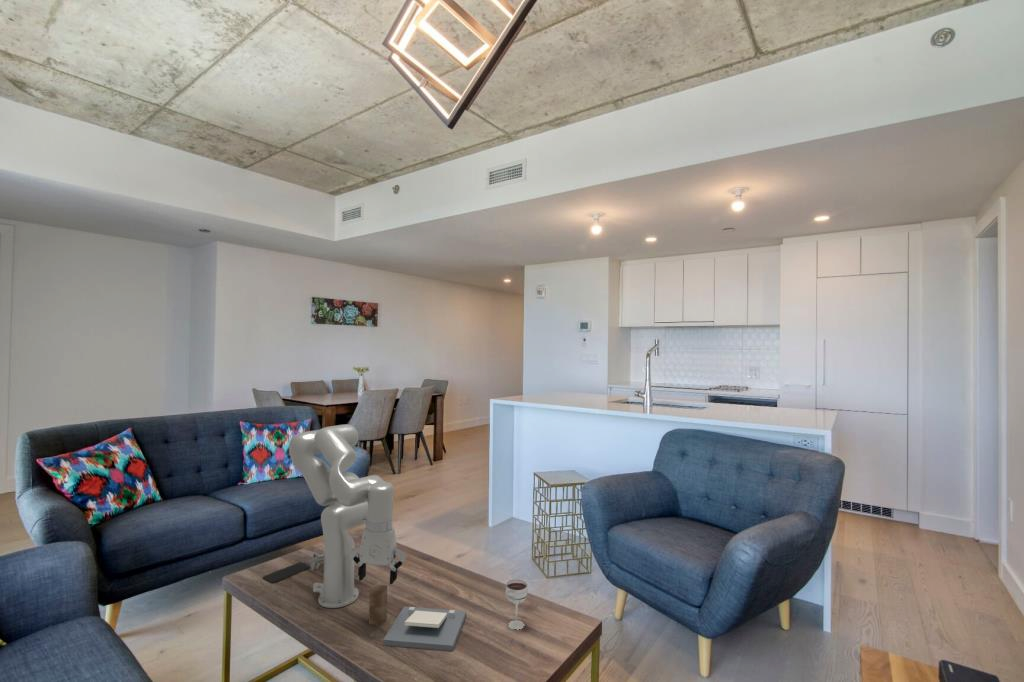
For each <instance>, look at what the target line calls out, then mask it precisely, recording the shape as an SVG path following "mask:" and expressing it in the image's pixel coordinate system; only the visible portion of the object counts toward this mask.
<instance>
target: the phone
mask: <svg viewBox="0 0 1024 682" xmlns="http://www.w3.org/2000/svg"><path fill="white" fill-rule="evenodd" d="M310 566H311V565H309V564H306V563H305V562H302V561H301V562H296V563H294V564H291V565H289V566H286V567H283V568H281V569H278V570H276V571H273V572H271V573H268V574H267V575H264V576H263V577H262V579H263V580H264V581H266V582H267V583H270V584H277V583H280V582H281V581H284V580H286V579H289V578H291V577H293V576H295V575H298V574H300V572H301V573H303V572H305V571H307V569H308V570H309V569H310Z"/></svg>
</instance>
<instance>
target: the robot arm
mask: <svg viewBox="0 0 1024 682" xmlns="http://www.w3.org/2000/svg"><path fill="white" fill-rule="evenodd" d="M358 432H359V431H358V430H357V429H356V428H355V426H354V425H352V424H349V423H347V424H344V423H343V424H338V425H331V426H324V427H323V428H320V429H315V430H308V431H303V432H300V433H298V434H295V435H294V436H292V437H291V438H290V440H289V443H288V444H289V445H288V452H289V456H290V460H291V461H292V463H293V465H294V467H295V468H296V469H297V470H298V472H299V473H300V474H301V475H302V476H303V478H304V479H305V483H306V485H307V486H308V489H309V491H310V492H311V495H312V496H313V498H314V500H315V502H316V503H317V504H318V505H319V506H322V507H325V508H324V509H323V510H322V512H321V514H320V522H321V523H320V524H321V527H322V534H323V535H322V536H323V554H324V562H323V582H314V583H313V586H312V588H313V589H312V592H313V593H319V595H318V598H317V601H318V604H319V605H320V606H321V607H323V608H327V609H337V608H342V607H346V606H348V605H351V604H352V603H354V602H355V601H356V600H357V599H358V598H359V595H360V592H359V591H360V590H359V588H357V587H355V564H356V567H357V568H358V570H357V571H358V573H357V576H358V577H359V578H358V581H362V580H363V579H365V577H366V575H367V574H366V573H367V565H374V566H382V567H388V566H389V568H390V571H389V584H390V585H393V584H394V583H395V581H396V580H397V579H398V570H399V568H400V567H401V566H402V565H403V564H404V563H405V562H404V561H405V560H406V558H407V554H406V553H404V552H402V551H401V550H399V549H398V548H397V538H396V537H397V536H396V531H395V527H393V519H394V518H393V517H394V493H395V492H394V491H395V490H394V489H395V488H394V485H393V483H390V482H388V481H385V480H384V479H383V478H382V477H381V476H379V475H376V474H371V475H368V476H364V477H363V476H362V477H359V476H358V475H357V474H356V473H354V472H351V471H350V472H348V470H349V469H350V468H352V466H353V465H354V464H355V462H356V460H357V452H356V451H355V450H354V449H353V448H354V447H355V446H357V444H358V442H359V433H358ZM320 454H321V455H322V456H323V457H324V459H325V460H326V461H324V460H323V459H321V458H319V457H317V456H316V455H320ZM326 462H327V463H326ZM329 465H330V466H329ZM346 471H347V472H346ZM363 525H365V528H363V531H362V535H361V541H360V545H359V546H356V547H355V541H354V538H353V537H352V535H350V534H349V531H350V530H352V529H354V528H358V527H360V526H363ZM358 553H359V554H358ZM397 557H398V558H399V561H398V560H397V559H396V558H397Z"/></svg>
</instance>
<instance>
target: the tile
mask: <svg viewBox="0 0 1024 682" xmlns="http://www.w3.org/2000/svg"><path fill="white" fill-rule="evenodd" d="M446 617H447V613H441V612H429V611H415V612H414V613H413V614H412V615H411V616H410V617H409V618H408V619H407V620H406V621H405V625H408V626H421V627H433V628H439V627H440V625H441V624H442V623H443V621H444V620H445V619H446Z"/></svg>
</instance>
